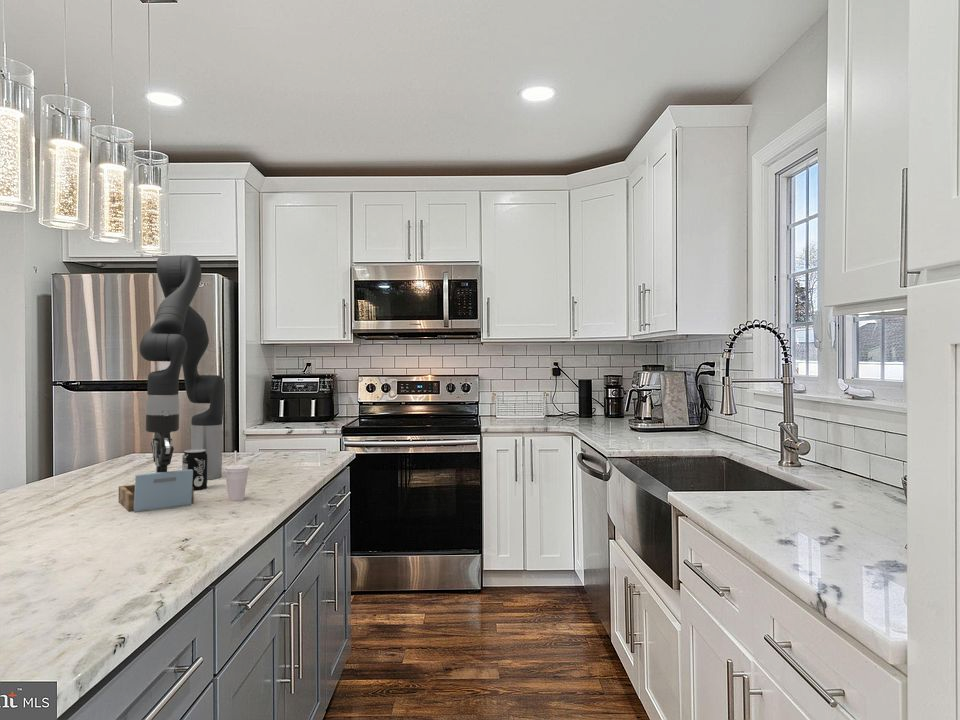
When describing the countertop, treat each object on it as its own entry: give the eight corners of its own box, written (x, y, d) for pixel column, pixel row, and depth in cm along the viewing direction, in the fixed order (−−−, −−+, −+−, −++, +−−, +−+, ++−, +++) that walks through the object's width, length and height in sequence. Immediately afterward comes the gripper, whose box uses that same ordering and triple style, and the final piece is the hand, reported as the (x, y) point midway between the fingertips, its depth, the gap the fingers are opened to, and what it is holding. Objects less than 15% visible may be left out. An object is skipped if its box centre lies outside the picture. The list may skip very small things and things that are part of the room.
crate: (118, 505, 163) (118, 486, 163) (180, 497, 173) (180, 479, 173) (128, 515, 153) (128, 494, 153) (193, 506, 163) (193, 487, 163)
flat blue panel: (133, 513, 154) (135, 474, 152) (189, 506, 162) (191, 469, 161) (134, 515, 153) (136, 476, 152) (191, 507, 161) (193, 470, 160)
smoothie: (218, 503, 167) (219, 451, 167) (237, 498, 173) (238, 448, 173) (235, 506, 164) (235, 453, 164) (254, 501, 170) (254, 450, 170)
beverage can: (211, 489, 184) (211, 449, 184) (199, 494, 178) (199, 452, 178) (190, 488, 185) (190, 448, 185) (177, 493, 178) (177, 451, 178)
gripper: (140, 410, 161) (139, 478, 161) (152, 415, 150) (151, 487, 151) (172, 409, 165) (171, 475, 166) (185, 414, 155) (184, 483, 155)
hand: (161, 480), depth 158 cm, fingers closed
